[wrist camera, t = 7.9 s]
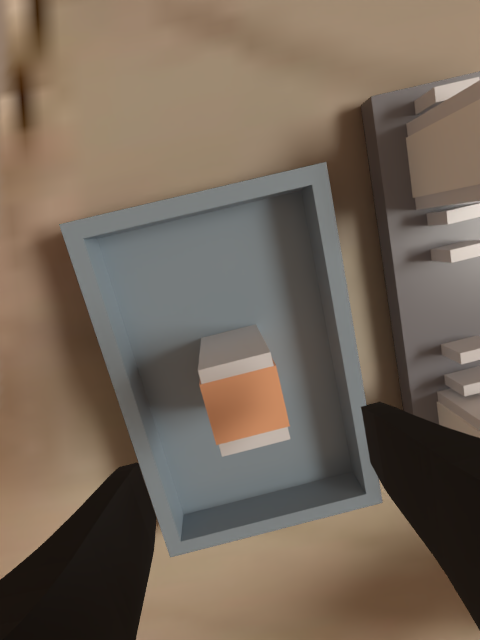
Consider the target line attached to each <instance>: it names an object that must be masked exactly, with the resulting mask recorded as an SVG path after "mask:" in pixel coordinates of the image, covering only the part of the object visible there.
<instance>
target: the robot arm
mask: <svg viewBox="0 0 480 640" xmlns="http://www.w3.org/2000/svg"><path fill="white" fill-rule="evenodd" d="M361 410H362V416H363V422H364V428H365V434H366V440H367V445H368V451H369V457H370V463H371V465H372V467H373V468H374V470H375V472H376V474H377V476H378V478H379V479H380V481H381V483H382V485H383V486H384V488H385V490H386V491H387V493H388V494H389V496H390V497H391V499H392V500H393V501H394V503H395V504H396V505H397V507H398V508H399V509H400V511H401V512H402V514H403V515H404V516H405V518H406V519H407V520H408V522H409V523H410V524H411V526H412V527H413V528H414V530H415V531H416V533H417V534H418V535H419V537H420V538H421V539H422V541H423V542H424V543H425V545H426V546H427V547H428V549H429V550H430V551H431V553H432V554H433V556H434V557H435V558H436V560H437V561H438V563H439V564H440V566H441V567H442V569H443V570H444V572H445V573H446V575H447V577H448V578H449V580H450V581H451V583H452V585H453V586H454V588H455V590H456V591H457V593H458V595H459V596H460V598H461V600H462V601H463V603H464V604H465V606H466V608H467V609H468V611H469V613H470V615H471V616H472V618H473V620H474V621H475V623H476V625H477V626H478V628H479V630H480V438H479V437H475V436H472V435H469V434H466V433H463V432H459V431H456V430H453V429H450V428H447V427H444V426H442V425H439V424H436V423H433V422H431V421H428V420H425V419H423V418H420V417H418V416H415V415H413V414H410V413H408V412H405V411H403V410H400V409H398V408H395V407H393V406H390V405H387V404H384V403H381V402H378V403H374V404H370V405H366V406H362V407H361ZM155 531H156V514H155V511H154V508H153V505H152V502H151V499H150V496H149V494H148V491H147V488H146V485H145V482H144V479H143V476H142V473H141V470H140V467H139V464H138V463H134V464H130V465H126V466H122V467H119V468H118V469H117V470H115V471H114V472H113V473H112V474H111V475H110V476H109V477H108V478H107V479H106V480H105V481H104V482H103V484H102V485H101V486H100V487H99V488H98V489H97V490H96V491H95V492H94V493H93V494H92V495H91V496H90V497H89V498H88V499H87V500H86V502H85V503H84V504H83V505H82V506H81V507H80V508H79V509H78V510H77V511H76V512H75V513H74V514H73V515H72V516H71V517H70V518H69V519H68V520H67V521H66V522H65V523H64V524H63V525H62V526H61V527H60V528H59V529H58V530H57V531H56V532H55V533H54V534H53V535H52V536H51V537H50V538H49V539H48V540H46V541H45V542H44V543H43V544H42V545H41V546H40V547H39V548H38V549H37V550H35V551H34V552H33V553H32V554H31V555H30V556H29V557H27V558H26V559H25V560H24V561H23V562H21V563H20V564H19V565H18V566H17V567H16V568H14V569H13V570H12V571H11V572H10V573H8V574H7V575H6V576H5V577H3V578H2V579H1V580H0V640H136V635H137V630H138V625H139V620H140V616H141V611H142V606H143V601H144V597H145V592H146V587H147V582H148V577H149V572H150V568H151V563H152V557H153V552H154V543H155Z"/></svg>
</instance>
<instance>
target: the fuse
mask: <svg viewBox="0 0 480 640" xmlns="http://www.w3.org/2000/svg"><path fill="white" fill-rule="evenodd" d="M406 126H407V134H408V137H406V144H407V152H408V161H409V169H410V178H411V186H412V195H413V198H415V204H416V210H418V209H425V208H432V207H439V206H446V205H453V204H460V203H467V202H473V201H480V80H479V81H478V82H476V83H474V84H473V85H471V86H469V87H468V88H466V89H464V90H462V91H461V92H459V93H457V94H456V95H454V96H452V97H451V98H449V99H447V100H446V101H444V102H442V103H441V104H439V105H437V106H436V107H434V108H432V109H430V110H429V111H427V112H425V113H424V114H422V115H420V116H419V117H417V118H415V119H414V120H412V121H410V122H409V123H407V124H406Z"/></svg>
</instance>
